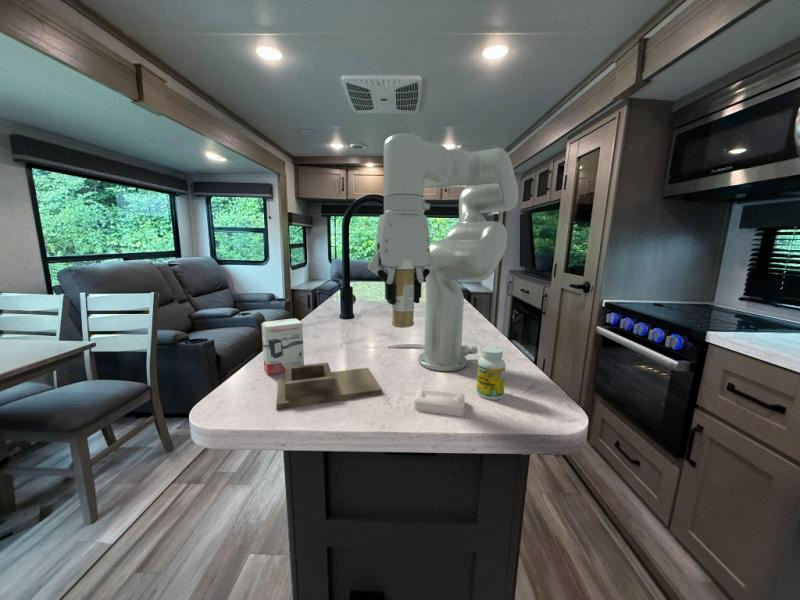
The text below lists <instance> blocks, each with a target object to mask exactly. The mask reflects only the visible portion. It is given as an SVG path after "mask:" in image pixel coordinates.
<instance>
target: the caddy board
mask: <svg viewBox="0 0 800 600" xmlns="http://www.w3.org/2000/svg"><path fill="white" fill-rule="evenodd" d="M277 379H278V380H277V393H276V402H275V403H276V404H275V405H276V406H275V407H276V408H275V409H276V410H282V409H283V410H284V409H291V408H296V407H303V406H310V405H315V404H317V405H318V404H324V403H329V402H336V401H342V400H348V399H349V400H351V399H356V398H363V397H369V396H370V397H371V396H376V395H382V394H383V388H382V387H381V385H380V384H379V382H378V381H377V379H376V378H375V376H374V375H373V372H371V370H370V369H369V367H364V368H355V369H348V370H347V369H345V370H338V371H331V368H330V364H329V362H321V363H319V362H318V363H311V364H304V365H300V366H290V367H285V372H284V377H278V378H277Z"/></svg>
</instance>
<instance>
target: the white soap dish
mask: <svg viewBox="0 0 800 600" xmlns="http://www.w3.org/2000/svg"><path fill="white" fill-rule="evenodd" d="M465 396H466V395H465V394H464V393H463V392H457V391H447V390H446V391H445V390H438V389H430V388H429V389H428V388H421V387H420V388H417V391H416V394H415V397H414V400H413V409H414V410H415V411H420V412H425V413H435V414H441V415H442V414H443V415H449V416H450V415H451V416H460V417H463V416H465V401H466V400H465Z"/></svg>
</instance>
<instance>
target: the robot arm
mask: <svg viewBox="0 0 800 600" xmlns="http://www.w3.org/2000/svg"><path fill="white" fill-rule="evenodd" d="M511 160H512V159H511V157H510V156H509V154H508V152H507V151H506V150H505V149H503V148H501V147H495V148H490V149H483V150H479V151H467V150H462V149H455V148H453V149H448V148H447V147H445V146H443V145H441V144H439V143H438V144H437V143H434V142H428V141H424V140H423V139H422V138H421V137H420V136H418V135H416V134H412V133H405V132H404V133H396V134H392V135H390V136H388V137H387V138H386V139H385V140H384V144H383V214H380V215H379V217H378V222H377V227H376V228H377V229H376V230H377V231H376V244H375V254H374V255H373V257H372V258H371V260H370V261H369V262H368V264H367V269H368V270H370V271H371V272H372V273H374V274H375V275H377V276H378V278H380V279H381V280H382V281H383V282H384V298H385V301H386V302H387V303H388V304H390V305H391V306H392V305H394V304H395V303H396V286H395V284H393V278H394V274H395V269H396V268H399V267H401V266H402V264H403V262H404V261H405V260H410V261H411V262H412V266H413V267H414V304H419V303H420V299H421V298H422V283H424V281H425V318H424V320H425V321H424V350H423V351H424V352H422V353H420V354H419V355H418V363H419V364H420V365H421V366H422V367H424V368H426V369H429V370H433V371H439V372H454V371H460V370H462V369H464V368H465V367H466V366H467V364H468V359H467V358H466V356H468V355H476V354H478V351H479V349H478V347H477V346H470V347H468V345H467V344H465V345H462V343H463V324H464V323H463V319H464V305H465V304H464V301H465V299H464V298H465V297H464V293H463V290H462V289H461V287H460V285H459V284H458V281H457V280H459V281H476V282H479V281H480V282H482V281H486V280H488V279H490V278H491V276H492V275H493V273H494V272H495V270H496V269H497V267H498V265H499V263H500V261H501V260H502V258H503V257H504V254H505V251H506V249H507V246H508V245H507V244H508V233H507V229H506V227H505V225H504V224H503V223H501V222H499V221H494V220H487V219H486V217H484V215H483V214H482V213H497V212H508V211H511V210H513V209H514V208H516V206H517V204H518V201H519V187H518V182H517V179H516V175H515V170H514V167H513V164H512V161H511ZM463 187H465V188H464V189H463V190H462V191H461V193H460V194H459V199H458V215H459V219H458V221H457V222H456V223H455V225H453V227H452V228H451V229H450V230H449V231H448V232H447V234H446V236H445V239H440V240H435V241H432V242H431V239H430V237H431V236H430V228H429V222H428V217H427V215H426V214H425V212H426V211H429V210H430V209H431V204H430V202H426V201H425V198H424V196H425V189H448V188H450V189H451V188H463ZM380 267H383V268H384V269H381V268H380Z"/></svg>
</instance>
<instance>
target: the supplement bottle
mask: <svg viewBox="0 0 800 600" xmlns="http://www.w3.org/2000/svg"><path fill="white" fill-rule="evenodd" d="M503 352H504V351H503V349H502V348H499V347H496V346H484V347H482V348H481V356H482V357H480V358H478V361H477V376H476V377H477V378H476V393H477V395H478V396H479V397H481V398H483V399H486V400H491V401H492V400H494V401H495V400H496V401H498V400H500V399H502V398H503V397H504V393H505V382H506V381H505V380H506V379H505V378H506V362H505V361H504V359H502V358H503V355H504V354H503Z"/></svg>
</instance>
